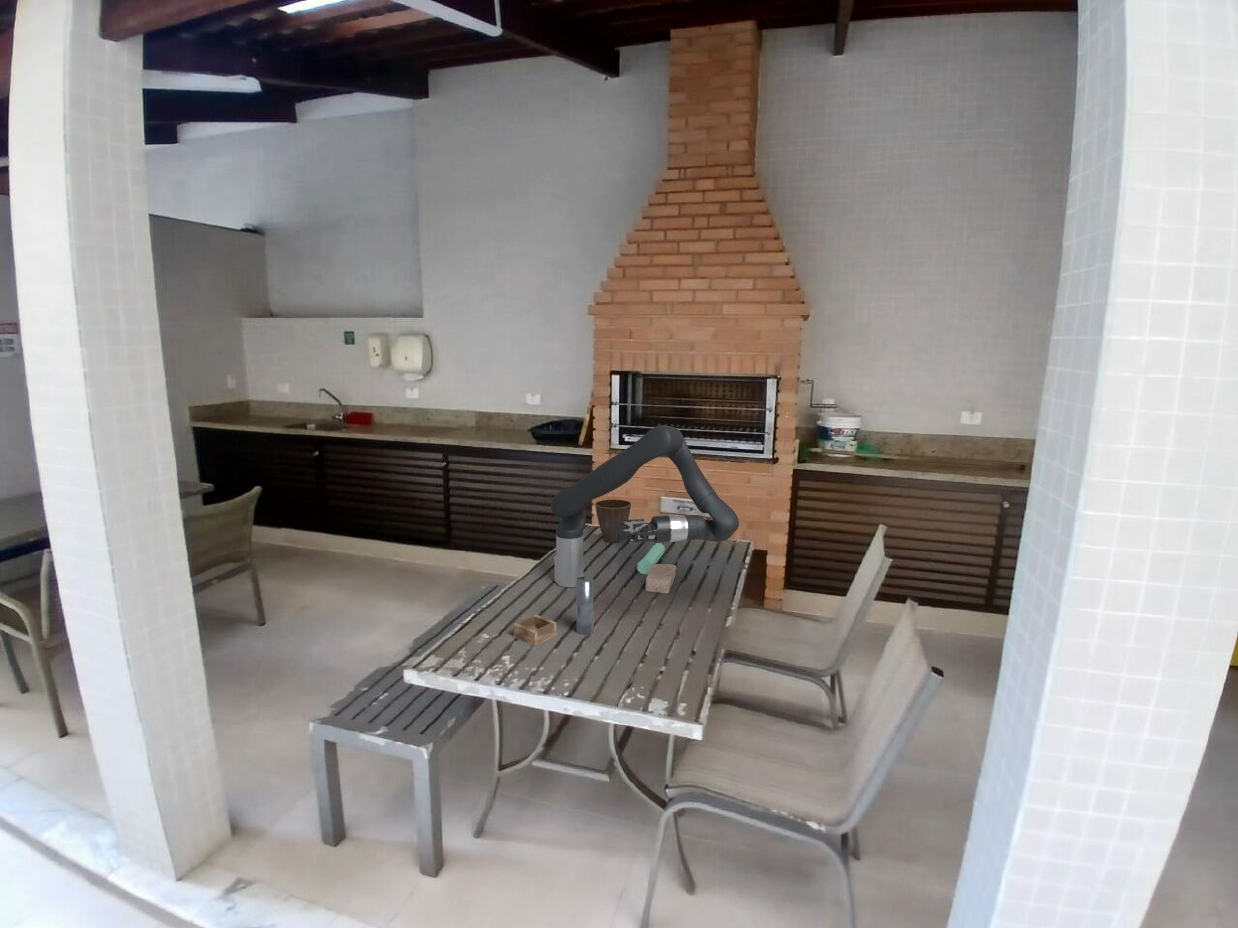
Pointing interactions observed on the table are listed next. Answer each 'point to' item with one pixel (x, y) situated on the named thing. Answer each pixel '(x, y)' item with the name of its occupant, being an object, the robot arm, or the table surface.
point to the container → (650, 558)
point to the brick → (660, 578)
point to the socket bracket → (535, 630)
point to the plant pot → (611, 516)
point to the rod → (584, 605)
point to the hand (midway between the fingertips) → (613, 531)
